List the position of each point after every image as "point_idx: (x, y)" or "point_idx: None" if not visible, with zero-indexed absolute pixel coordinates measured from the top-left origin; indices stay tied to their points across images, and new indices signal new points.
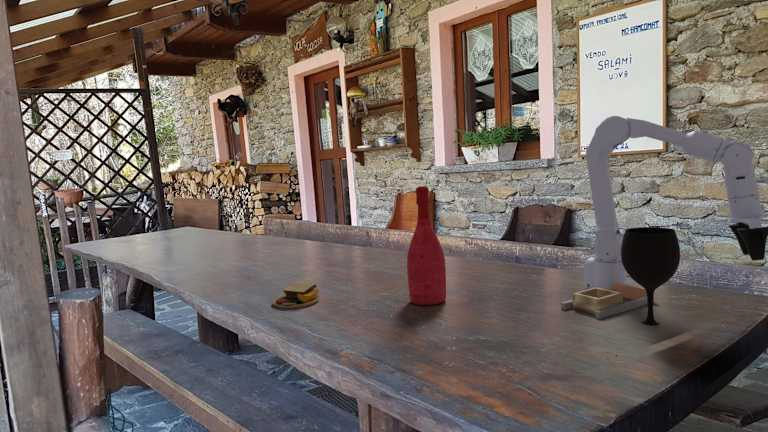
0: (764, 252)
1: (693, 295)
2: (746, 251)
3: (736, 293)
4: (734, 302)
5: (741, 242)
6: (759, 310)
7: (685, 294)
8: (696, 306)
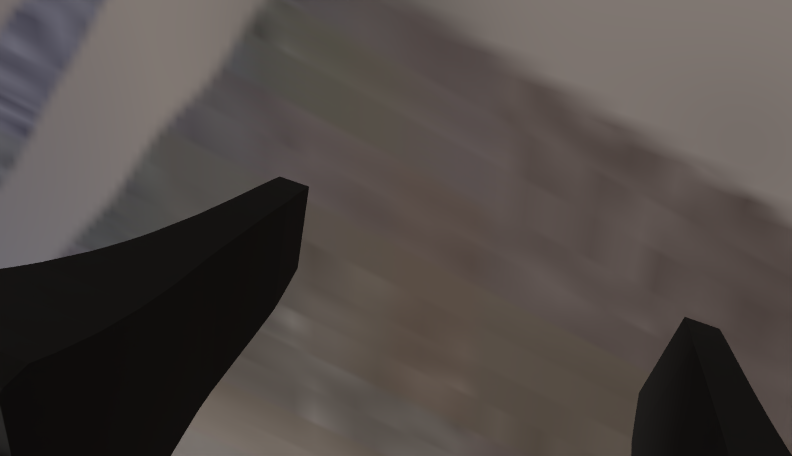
0: (748, 386)
1: (296, 321)
2: (287, 270)
3: (241, 71)
4: (458, 196)
5: (220, 364)
6: (661, 156)
7: (275, 347)
8: (525, 418)
